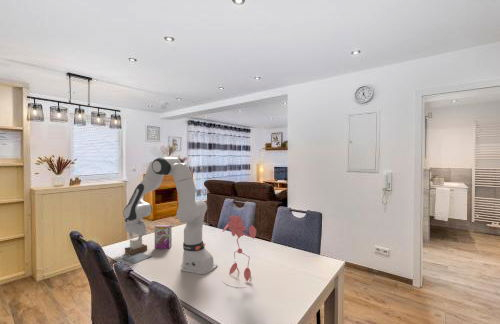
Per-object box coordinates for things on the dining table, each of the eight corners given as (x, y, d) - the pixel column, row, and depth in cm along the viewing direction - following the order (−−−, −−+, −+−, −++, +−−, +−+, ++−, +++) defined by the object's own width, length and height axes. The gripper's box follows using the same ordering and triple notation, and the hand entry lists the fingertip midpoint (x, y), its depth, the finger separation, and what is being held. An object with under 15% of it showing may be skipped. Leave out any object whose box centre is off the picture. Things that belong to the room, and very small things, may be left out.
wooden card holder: (147, 250, 169) (147, 244, 169) (131, 255, 159) (131, 250, 159) (140, 247, 174) (140, 242, 174) (124, 253, 164) (124, 247, 164)
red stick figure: (229, 267, 142) (228, 209, 140) (263, 281, 124) (262, 216, 123) (209, 277, 130) (208, 214, 129) (244, 295, 113) (242, 222, 112)
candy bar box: (154, 248, 172) (154, 226, 172) (157, 246, 177) (157, 224, 177) (169, 249, 171) (168, 226, 171) (172, 246, 176) (171, 224, 176)
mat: (151, 256, 158) (151, 256, 158) (134, 263, 147) (134, 263, 147) (138, 252, 165) (138, 252, 165) (121, 258, 155) (121, 258, 155)
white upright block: (142, 250, 169) (142, 238, 169) (133, 254, 163) (132, 241, 163) (139, 249, 171) (139, 237, 170) (130, 253, 165) (129, 240, 164)
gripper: (148, 221, 164) (148, 240, 164) (131, 217, 174) (131, 235, 174) (140, 223, 158) (140, 243, 158) (122, 218, 169) (123, 238, 169)
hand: (135, 239), depth 167 cm, fingers open, 8 cm apart
